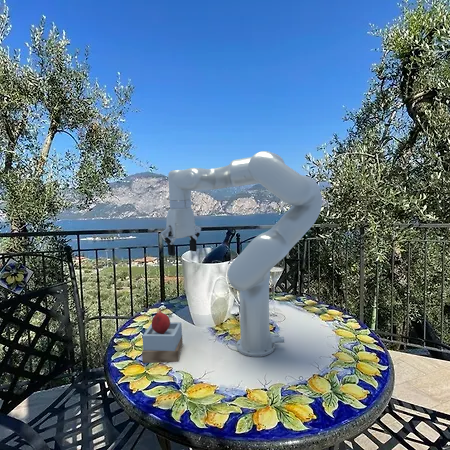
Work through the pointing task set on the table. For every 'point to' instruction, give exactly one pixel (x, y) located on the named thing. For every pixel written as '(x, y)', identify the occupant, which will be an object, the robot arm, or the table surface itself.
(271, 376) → the table surface
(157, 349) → the grey top block
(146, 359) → the walnut base block
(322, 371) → the table surface
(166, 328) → the onion
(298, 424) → the table surface
